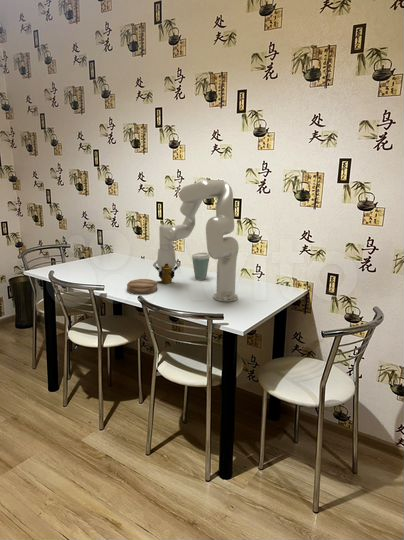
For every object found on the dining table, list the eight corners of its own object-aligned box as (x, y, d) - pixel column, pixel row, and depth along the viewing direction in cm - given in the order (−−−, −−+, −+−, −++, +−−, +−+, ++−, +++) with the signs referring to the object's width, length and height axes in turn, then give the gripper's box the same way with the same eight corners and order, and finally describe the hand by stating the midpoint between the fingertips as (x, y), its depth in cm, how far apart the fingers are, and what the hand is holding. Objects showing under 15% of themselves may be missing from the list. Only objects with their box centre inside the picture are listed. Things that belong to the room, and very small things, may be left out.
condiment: (174, 283, 244) (174, 262, 241) (161, 285, 239) (161, 264, 236) (168, 280, 250) (168, 260, 246) (155, 282, 245) (155, 261, 242)
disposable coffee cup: (194, 281, 247) (194, 256, 243) (189, 276, 257) (189, 252, 253) (211, 280, 250) (212, 255, 246) (206, 275, 260) (207, 251, 256)
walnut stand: (157, 294, 224) (156, 287, 223) (125, 294, 222) (125, 287, 221) (157, 285, 239) (157, 278, 238) (128, 285, 238) (128, 278, 237)
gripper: (181, 245, 243) (181, 275, 248) (150, 245, 242) (151, 276, 247) (182, 248, 236) (182, 279, 241) (150, 248, 235) (151, 279, 239)
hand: (166, 277), depth 244 cm, fingers closed on condiment, 6 cm apart
